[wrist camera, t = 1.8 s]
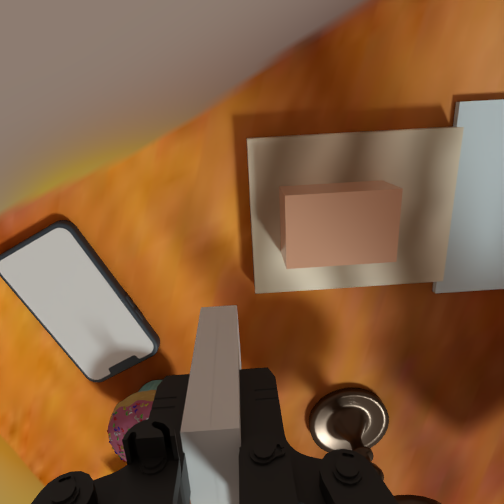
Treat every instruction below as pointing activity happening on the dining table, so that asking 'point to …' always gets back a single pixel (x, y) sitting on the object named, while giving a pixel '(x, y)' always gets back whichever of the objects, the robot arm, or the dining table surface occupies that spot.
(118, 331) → the phone case
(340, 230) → the pink block
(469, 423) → the dining table surface
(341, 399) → the candlestick
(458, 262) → the mat
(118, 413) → the cupcake
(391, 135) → the beige flat rectangular piece
